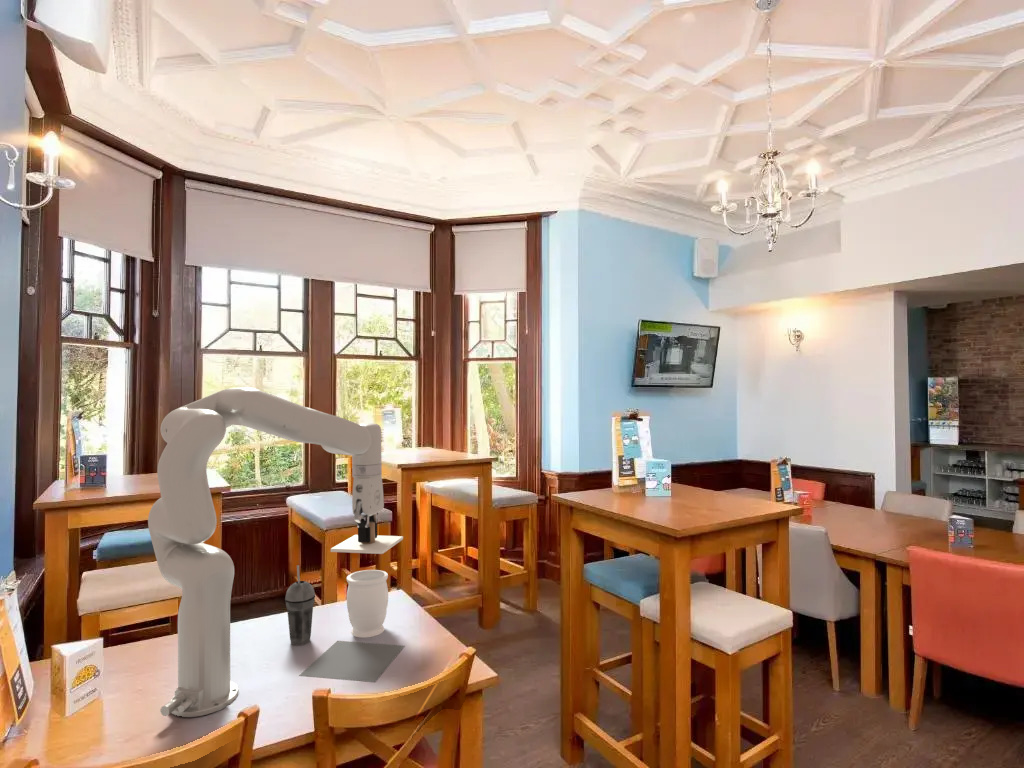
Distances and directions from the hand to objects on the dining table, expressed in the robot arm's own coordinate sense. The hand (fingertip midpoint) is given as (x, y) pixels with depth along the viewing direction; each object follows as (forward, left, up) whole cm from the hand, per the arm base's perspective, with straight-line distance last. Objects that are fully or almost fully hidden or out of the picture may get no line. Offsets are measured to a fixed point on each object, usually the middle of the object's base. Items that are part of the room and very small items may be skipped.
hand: (367, 539), depth 152 cm
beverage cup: (-9, +14, -25) cm, 30 cm away
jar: (0, 0, -25) cm, 25 cm away
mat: (-16, -4, -24) cm, 29 cm away
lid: (0, 0, -2) cm, 2 cm away
